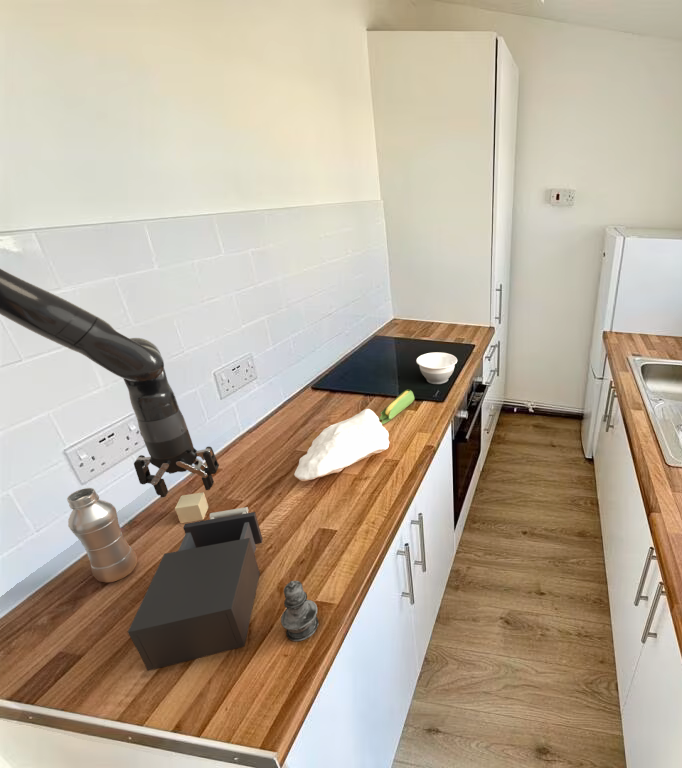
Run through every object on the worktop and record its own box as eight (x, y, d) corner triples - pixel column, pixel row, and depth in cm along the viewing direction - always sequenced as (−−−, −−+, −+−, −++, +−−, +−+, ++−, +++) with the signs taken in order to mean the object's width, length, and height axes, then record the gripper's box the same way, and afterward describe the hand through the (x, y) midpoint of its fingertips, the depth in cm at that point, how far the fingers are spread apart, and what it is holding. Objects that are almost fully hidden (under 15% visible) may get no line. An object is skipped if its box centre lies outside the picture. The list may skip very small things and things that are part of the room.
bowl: (449, 390, 165) (448, 370, 161) (410, 384, 168) (409, 364, 164) (462, 374, 179) (462, 355, 175) (427, 368, 182) (426, 350, 178)
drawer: (202, 533, 95) (192, 506, 91) (266, 522, 99) (259, 495, 95) (171, 612, 78) (158, 582, 75) (250, 595, 82) (240, 565, 79)
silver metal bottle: (89, 581, 84) (45, 502, 75) (126, 555, 90) (90, 479, 81) (111, 591, 82) (70, 511, 73) (148, 564, 88) (114, 487, 79)
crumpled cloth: (411, 427, 137) (405, 401, 134) (357, 498, 106) (347, 467, 103) (345, 427, 142) (338, 402, 139) (274, 495, 111) (262, 465, 107)
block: (180, 523, 98) (174, 508, 96) (186, 510, 102) (181, 495, 100) (203, 519, 100) (198, 504, 98) (208, 506, 104) (203, 492, 102)
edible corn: (418, 400, 157) (417, 389, 155) (388, 427, 139) (387, 415, 137) (405, 397, 158) (404, 386, 156) (374, 424, 141) (373, 412, 139)
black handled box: (179, 590, 83) (164, 553, 79) (260, 573, 88) (249, 537, 83) (148, 671, 70) (127, 632, 66) (244, 646, 74) (231, 608, 70)
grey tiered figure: (283, 620, 79) (271, 573, 74) (318, 607, 81) (308, 562, 76) (285, 648, 74) (271, 601, 69) (321, 634, 77) (311, 588, 72)
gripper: (209, 418, 96) (226, 476, 103) (131, 426, 92) (155, 486, 99) (199, 436, 90) (219, 496, 97) (115, 446, 86) (142, 508, 93)
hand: (187, 491), depth 98 cm, fingers open, 8 cm apart
